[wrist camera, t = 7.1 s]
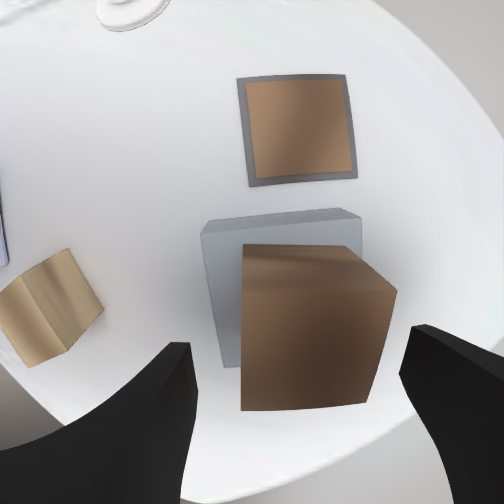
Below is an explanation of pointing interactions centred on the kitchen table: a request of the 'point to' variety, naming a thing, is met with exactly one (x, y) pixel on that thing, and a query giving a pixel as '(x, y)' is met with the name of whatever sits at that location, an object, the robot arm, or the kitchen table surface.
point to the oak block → (47, 309)
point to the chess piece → (127, 13)
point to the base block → (263, 232)
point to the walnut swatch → (297, 128)
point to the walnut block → (310, 326)
